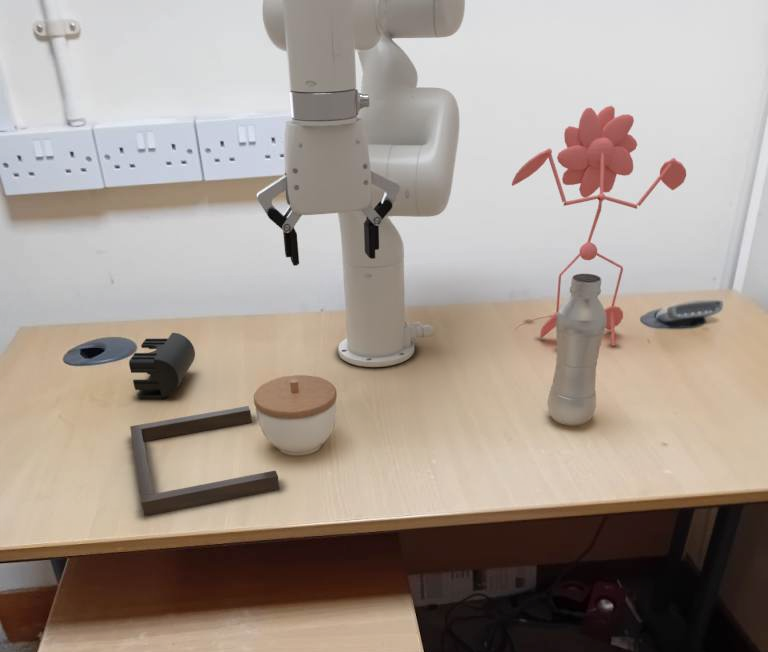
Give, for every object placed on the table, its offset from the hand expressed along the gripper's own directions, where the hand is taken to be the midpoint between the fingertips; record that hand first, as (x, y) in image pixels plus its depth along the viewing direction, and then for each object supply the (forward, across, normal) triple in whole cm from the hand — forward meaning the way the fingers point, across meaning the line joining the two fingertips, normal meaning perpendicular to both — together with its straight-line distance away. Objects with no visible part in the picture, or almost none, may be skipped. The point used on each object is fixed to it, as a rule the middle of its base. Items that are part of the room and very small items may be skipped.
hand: (332, 259), depth 99 cm
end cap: (+23, +24, -18) cm, 38 cm away
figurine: (+22, -44, -20) cm, 53 cm away
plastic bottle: (+23, -31, +9) cm, 39 cm away
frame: (+23, +20, +6) cm, 31 cm away
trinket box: (+23, +7, +5) cm, 25 cm away
